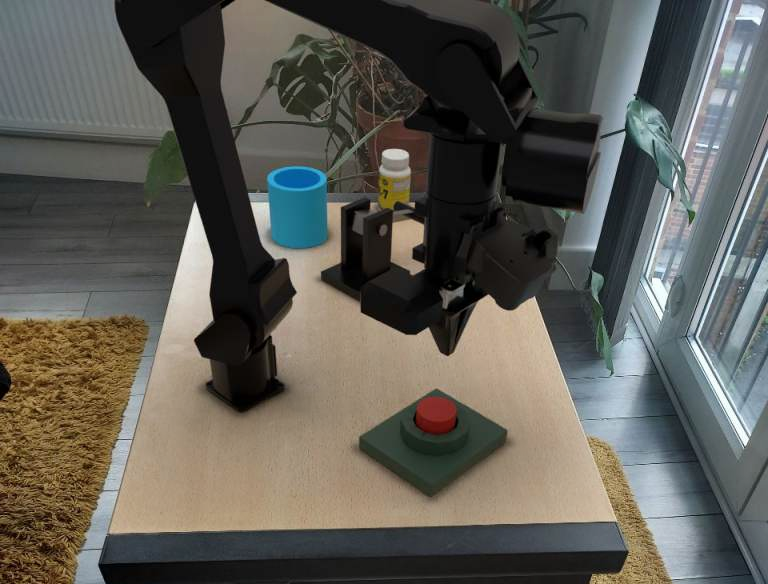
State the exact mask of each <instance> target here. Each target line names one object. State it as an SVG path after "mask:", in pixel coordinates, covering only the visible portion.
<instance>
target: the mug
mask: <svg viewBox="0 0 768 584" xmlns="http://www.w3.org/2000/svg"><path fill="white" fill-rule="evenodd" d="M327 179H328V177H327V175H326V174H325V172H322V171H321V170H319V169H316V168H313V167H309V166H308V167H307V166H298V165H297V166H296V165H294V166H285V167H281V168H278V169H277V168H276V169H275V170H273V171H272V172H270V173H269V174H268V175H267V180H266V181H267V182H266V183H267V194H268V195H267V197H268V206H269V207H268V211H269V221H270V224H269V225H270V235H271V239H272V240H273V241H274V242H275V243H276V244H277V245H279V246H283V247H284V248H285V247H286V248H291V249H307V248H308V249H309V248H313V247H316V246H320V245H321V244H322V243H324V242H326V240H327V239H328V237H329V236H328V231H329V230H328V189H327V188H328V187H327V186H328V185H327Z"/></svg>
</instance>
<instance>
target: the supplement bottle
mask: <svg viewBox="0 0 768 584" xmlns="http://www.w3.org/2000/svg"><path fill="white" fill-rule="evenodd" d="M409 164H410V153H409V152H407V151H406V150H404V149H400V148H387V149H384V150H383V151H382V153H381V165H380V166H379V169H378V189H377V190H378V193H377V194H378V195H377V209H378V210H379V211H381V210H383V209H385V208H390V209H392V210H393V212H395V211H394V209H393V207H394V204H395V203H396V202H397V201H400V202H402V203H404V204H407V205H409V206H410V191H411V176H412V170H411V168H410V166H409Z"/></svg>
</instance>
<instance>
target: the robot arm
mask: <svg viewBox="0 0 768 584" xmlns="http://www.w3.org/2000/svg"><path fill="white" fill-rule="evenodd" d="M113 1H114V2H113V5H114V6H113V7H114V9H113V10H114V15H115V20H116V23H117V26H118V29H119V30H120V33H121V35H122V37H123V39H124V42H125V44H126V47H127V48H128V50H129V53H130V55H131V57H132V60H133V62H134V64H135V66H136V68H137V69H138V71H139V72H140V73H141V75H143V77H144V78H145V79H146V80H147V81H148V83H150V85H152V87H153V88H154V89H155V91H157V93H159V95H160V96H161V97H162V99H163V101H164V104H165V106H166V109H167V113H168V116H169V119H170V122H171V125H172V128H173V132H174V136H175V139H176V141H177V145H178V149H179V152H180V155H181V158H182V161H183V165H184V168H185V171H186V175H187V178H188V181H189V184H190V188H191V191H192V195H193V198H194V201H195V204H196V209H197V211H198V214H199V217H200V220H201V225H202V227H203V231H204V234H205V237H206V240H207V244H208V247H209V250H210V254H211V257H212V266H211V267H212V269H211V275H210V285H209V293H208V294H209V302H210V308H211V314H212V320H211V321H210V323H208V325H206V326H205V328H204V329H202V330H201V331H200V332H199V334H197V336H195V337H194V338H193V342H194V344H195V346H196V349H197V350H198V352H199V354H200V357H201V358H203V359H206V360H209V365H210V371H211V379H210V380H208V381H205V389H206V390H208V391H209V392H210V393H212V394H213V395H215V397H217V398H219V399H220V400H221V401H223V402H224V403H226V404H227V405H229V406H230V407H231V408H233V409H234V410H236V411H237V412H239V413H244V412H246V411H248V410H250V409H251V408H253V407H255V406H257V405H259V404H261V403H262V402H264V401H266V400H268V399H270V398H271V397H273V396H275V395H278V394H279V393H281V392H282V391H284V390H285V389H286V385H285V383H284V382H283V381H281V380H279V379H278V378H276V377H278V374H279V373H278V361H277V350H276V349H277V347H276V345H275V344H274V343H273V336H272V333H273V332H274V331H275V330H276V329H277V327H278V326H279V325H280V324H281V323H282V322H283V321H284V320H285V319H286V317H287V316H288V315H289V314H290V312H291V310H292V309H293V305H294V304H293V303H294V302H293V301H294V300H293V299H294V297H296V295H297V293H298V291H297V290H296V288H295V286H294V285H293V282H292V279H291V274H290V264H289V261H288V259H287V258H285V257H283V258H274V256H273V255H272V254H270V253H269V252H268V250H266V248H265V247H264V246H263V244H262V241H261V237H260V234H259V230H258V226H257V222H256V219H255V215H254V210H253V207H252V203H251V202H252V201H251V199H250V195H249V192H248V187H247V184H246V179H245V175H244V172H243V168H242V167H243V166H242V164H241V160H240V155H239V152H238V148H237V145H236V141H235V137H234V132H233V129H232V124H231V122H230V117H229V114H228V110H227V106H226V102H225V98H224V95H223V90H222V74H223V65H224V57H225V47H226V37H225V28H224V19H223V11H222V10H224V9H225V8H227V7H228V6H230V5H231V4H232V3H234V2H235V1H237V0H113ZM264 1H265V2H267V3H270V4H271V5H273V6H276V7H278V8H280V9H282V10H284V11H287V12H289V13H291V14H294V15H295V16H297V17H300V18H302V19H304V20H307V21H309V22H311V23H313V24H315V25H316V26H319V27H321V28H324V29H326V30H328V31H330V32H332V33H334V34H337V35H339V36H341V37H343V38H346V39H348V40H350V41H352V42H354V43H356V44H359V45H360V46H362V47H364V48H367V49H369V50H371V51H374V52H376V53H378V54H379V55H381V56H382V57H384V58H385V59H386V60H387V61H389V62H391V63H392V65H394V66H395V68H396V69H397V70H398V71H399V72H400V73H401V75H402V76H403V77H404V78H405V79H406V80H407V82H408V83H409V84H410V85H411V86H413V87H414V88H416V89H417V90H419V91H420V92H422V93H423V94H424V95H425V96H424V97H423V99H422V100H421V102H420V103H419V106H418V107H416V108H415V109H414V110H413V111H412V112H411V113H410V114H408V116H406V117H405V118H404V119H403V121H402V125H403V128H404V129H406V130H408V131H415V132H422V133H428V135H429V138H428V156H427V169H426V171H427V172H426V186H425V187H426V188H425V195H424V196H422V197H419V198H418V199H416V200H414V208H415V209H414V213H416V214H419V215H421V216H424V217H425V219H424V225H423V235H422V237H423V239H422V242H421V243H419V244H418V245H416V246H413V247H412V251H411V252H412V253H411V254H412V255H411V260H414V261H416V262H419V263H421V264H423V269H421V270H420V271H418V272H416V273H414V274H412V273H410V274H409V273H406V272H404V271H402V270H400V269H397V268H393V269H391V270H390V271H388V272H386V273H384V274H382V275H380V276H378V277H376V278H375V279H373V280H371V281H369V282H367V283H366V284H365V285H364V286H362V287H361V288H360V301H359V305H360V307H359V308H360V313H361V314H363V315H365V316H367V317H369V318H371V319H373V320H375V321H377V322H379V323H381V324H383V325H385V326H387V327H390V328H392V329H393V330H395V331H398V332H400V333H401V334H403V335H406V336H417V335H418V334H421V333H422V332H424V331H425V330H426V329H429V332H430V334H431V336H432V338H433V340H434V343H435V345H436V347H437V350H438V352H439V353H440V354H442V355H444V356H446V357H449V356H451V355H453V354H454V352H455V351H456V349H457V346H458V344H459V342H460V340H461V337H462V335H463V333H464V331H465V329H466V327H467V325H468V322H469V320H470V318H471V316H472V315H473V312H474V310H475V308H476V306H477V304H478V303H479V302H480V301H481V300H482V299H484V298H486V297H488V296H490V297H491V298H492V299H493V300H494V302H495V304H496V305H497V306H498V307H499V308H501V309H502V310H504V311H508V312H509V311H510V312H511V311H512V312H513V311H514V310H516V309H518V308H519V307H520V306H521V305H522V304H525V302H527V301H529V300H530V299H533V298H534V297H535V296H536V295H537V293H538V292H539V290H540V288H541V287H542V285H543V283H544V281H545V280H546V279H547V278H548V277H550V276H551V275H553V274H554V273H555V272H556V271H557V266H556V263H557V261H558V258H557V256H558V243H559V235H558V234H557V233H556V232H555V231H554V230H553V229H551V228H550V227H549V226H547V225H545V226H543V227H541V228H540V229H538V230H536V231H535V229H534V228H532V227H529V226H527V225H524V224H521V223H519V222H516V221H514V220H510V219H507V217H508V210H507V209H506V203H504V202H502V201H499V200H496V199H497V189H498V182H499V173H500V167H501V166H500V165H501V156H502V149H503V145H505V152H504V157H503V161H502V169H501V185H502V186H503V187H505V196H506V197H511V199H512V202H514V203H520V204H525V205H530V206H537V207H542V208H549V209H554V210H560V211H565V212H572V213H577V214H583V215H584V214H585V213H586V210H587V208H588V205H589V202H590V199H591V196H592V193H593V189H594V185H595V181H596V178H597V173H598V169H599V164H600V159H601V155H602V152H601V151H600V146H601V145H600V144H601V137H602V135H601V129H602V124H603V120H604V119H603V116H602V115H601V114H597V113H589V112H581V113H569V112H562V111H555V110H548V109H541V108H537V106H539V104H540V101H541V98H540V96H539V94H538V92H537V90H536V88H535V85H534V84H533V81H532V80H531V78H530V75H529V74H528V72H527V70H526V67H525V65H524V63H523V61H522V60H521V59H522V58H521V57H520V50H521V49H520V36H519V33H518V30H517V28H516V24H515V21H514V19H513V17H512V16H511V15H510V14H509V12H507V11H506V9H505V10H504V9H503V8H502V7H500V6H499V5H496V4H493V3H490V2H486V1H481V0H264Z"/></svg>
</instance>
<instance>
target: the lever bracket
mask: <svg viewBox="0 0 768 584" xmlns="http://www.w3.org/2000/svg"><path fill="white" fill-rule="evenodd" d="M371 201H372V200H371V198H368V197H366V196H365V197H362V198H360V199H359V198H358V199H357V200H354V201H352V202H350V203H348V204H345V205H342V206H340V262H339V263H337V264H335V265H333V266H330V267H328V268H325V269H324V270H322V271H320V280H321V281H323V282H324V283H327V284H329V285H330V286H332V287H333V288H335V289H337V290H339V291H341V292H343V293H345V294H346V295H348V296H350V297H352V298H353V299H356V300H357V301H359V302H360V288H361V287H362V286H364V285H365V284H366V283H367V282H369V281H371V280H373V279H375V278H376V277H378V276H380V275H382V274H384V273H386V272H388V271H390V270H391V269H393V268H397V269H400V270H402V271H404V272H406V273H409V274H411V270H409V269H407V268H405V267H403V266H401V265H399V264H397V263H395V262H393V261H392V243H393V224H394V223H393V210H392V209H390V208H385V209H383V210H381V211H375V212H376V213H374V214H371V215H369V216H367V217H364V218H363V235H361V234H359V233H357V232H355V231H353V230H352V226H353V219H354V212H355V211H360V210H366V209H371V203H372V202H371Z"/></svg>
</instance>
